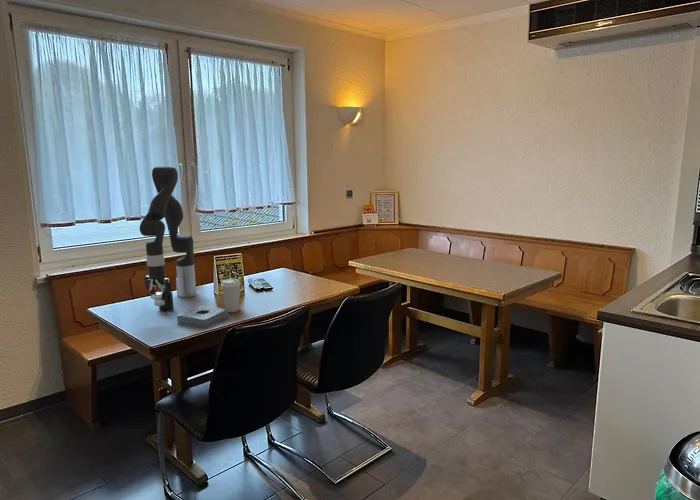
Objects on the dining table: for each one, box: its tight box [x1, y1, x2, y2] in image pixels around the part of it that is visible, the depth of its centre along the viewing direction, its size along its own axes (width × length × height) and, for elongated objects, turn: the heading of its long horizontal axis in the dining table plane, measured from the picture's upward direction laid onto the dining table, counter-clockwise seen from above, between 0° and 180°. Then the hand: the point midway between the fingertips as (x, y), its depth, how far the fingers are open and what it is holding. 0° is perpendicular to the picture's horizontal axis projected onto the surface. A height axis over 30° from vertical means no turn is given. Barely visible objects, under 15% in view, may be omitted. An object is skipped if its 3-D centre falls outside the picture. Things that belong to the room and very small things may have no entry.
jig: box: [176, 305, 229, 329], centre depth 230 cm, size 16×16×4 cm
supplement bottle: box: [158, 288, 175, 313], centre depth 246 cm, size 7×7×12 cm
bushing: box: [151, 291, 165, 307], centre depth 229 cm, size 6×6×5 cm
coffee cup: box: [220, 278, 242, 313], centre depth 244 cm, size 10×10×15 cm
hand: (159, 298), depth 229 cm, fingers closed on bushing, 6 cm apart
